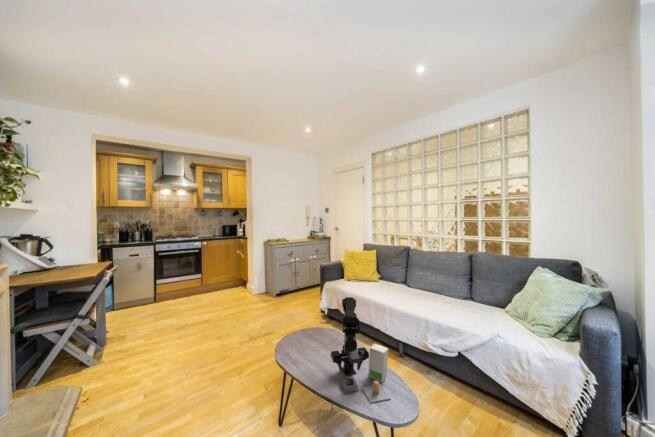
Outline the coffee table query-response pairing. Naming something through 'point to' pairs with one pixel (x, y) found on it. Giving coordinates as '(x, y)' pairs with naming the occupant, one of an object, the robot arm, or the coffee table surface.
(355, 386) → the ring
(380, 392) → the piston base
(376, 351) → the skincare box
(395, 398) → the coffee table surface
